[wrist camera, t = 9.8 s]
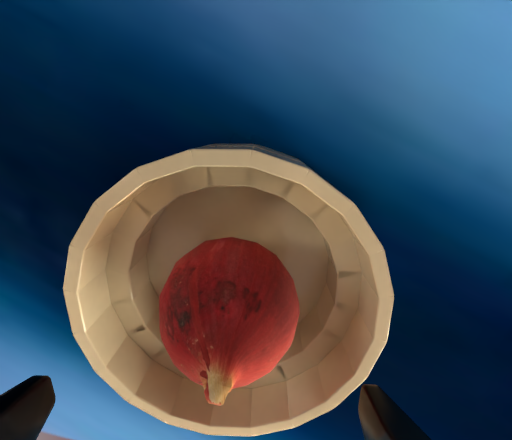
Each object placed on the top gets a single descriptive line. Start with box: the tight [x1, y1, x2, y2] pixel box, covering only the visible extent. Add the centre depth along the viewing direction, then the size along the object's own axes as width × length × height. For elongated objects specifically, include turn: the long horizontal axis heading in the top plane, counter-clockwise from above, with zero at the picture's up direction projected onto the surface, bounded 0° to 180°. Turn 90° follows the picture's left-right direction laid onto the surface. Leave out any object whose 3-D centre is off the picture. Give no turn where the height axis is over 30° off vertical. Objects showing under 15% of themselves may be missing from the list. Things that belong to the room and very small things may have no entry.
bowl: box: [63, 144, 394, 436], centre depth 14 cm, size 13×13×5 cm
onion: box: [159, 237, 300, 406], centre depth 12 cm, size 6×6×8 cm
